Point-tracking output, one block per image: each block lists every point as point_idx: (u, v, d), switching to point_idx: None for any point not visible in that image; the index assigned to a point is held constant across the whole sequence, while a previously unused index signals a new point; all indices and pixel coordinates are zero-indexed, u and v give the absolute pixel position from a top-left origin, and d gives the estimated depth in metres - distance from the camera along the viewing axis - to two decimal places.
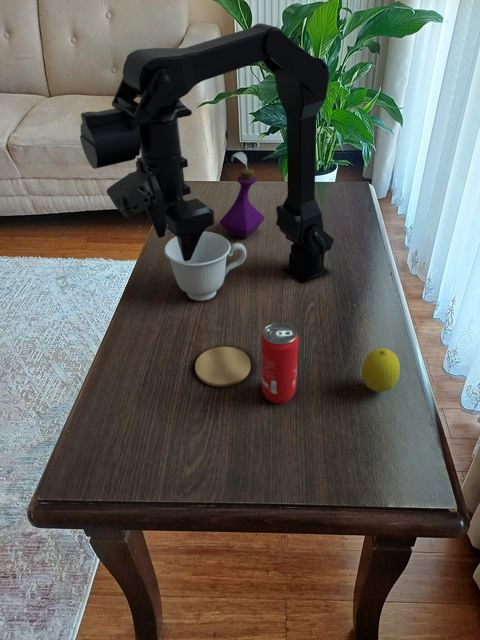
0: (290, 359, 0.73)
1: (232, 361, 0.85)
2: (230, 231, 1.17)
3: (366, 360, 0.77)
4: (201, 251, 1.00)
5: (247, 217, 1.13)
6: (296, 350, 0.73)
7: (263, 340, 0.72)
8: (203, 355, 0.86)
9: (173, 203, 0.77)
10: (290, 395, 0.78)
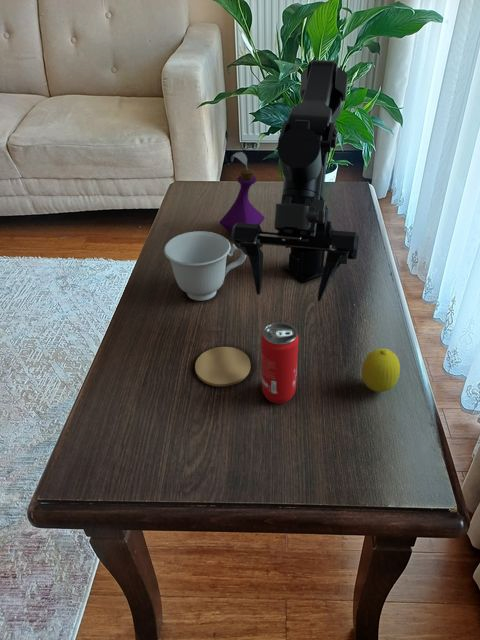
0: (290, 359, 0.73)
1: (232, 361, 0.85)
2: (230, 231, 1.17)
3: (366, 360, 0.77)
4: (201, 251, 1.00)
5: (247, 217, 1.13)
6: (296, 350, 0.73)
7: (263, 340, 0.72)
8: (203, 355, 0.86)
9: (316, 238, 0.78)
10: (290, 395, 0.78)
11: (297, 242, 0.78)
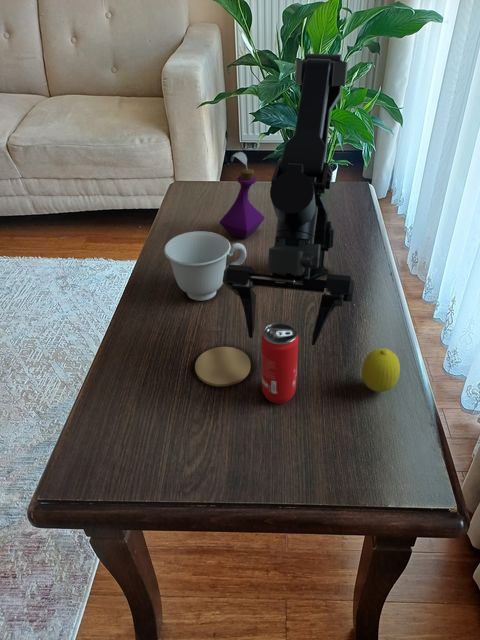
0: (290, 359, 0.73)
1: (232, 361, 0.85)
2: (230, 231, 1.17)
3: (366, 360, 0.77)
4: (201, 251, 1.00)
5: (247, 217, 1.13)
6: (296, 350, 0.73)
7: (263, 340, 0.72)
8: (203, 355, 0.86)
9: (310, 281, 0.76)
10: (290, 395, 0.78)
11: (291, 284, 0.76)
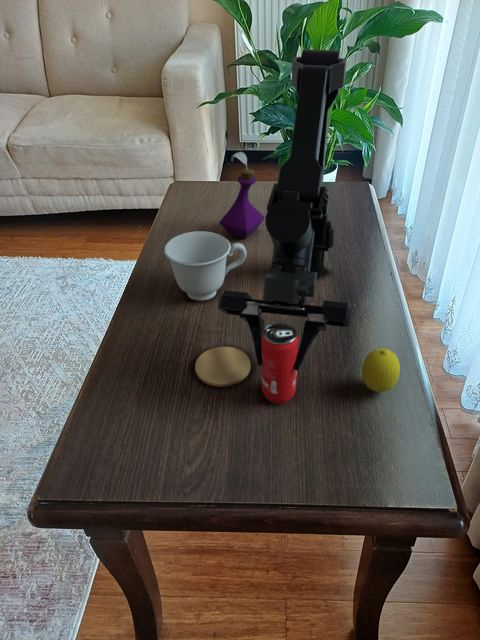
0: (290, 359, 0.73)
1: (232, 361, 0.85)
2: (230, 231, 1.17)
3: (366, 360, 0.77)
4: (201, 251, 1.00)
5: (247, 217, 1.13)
6: (296, 350, 0.73)
7: (263, 340, 0.72)
8: (203, 355, 0.86)
9: (307, 307, 0.75)
10: (290, 395, 0.78)
11: (287, 310, 0.75)
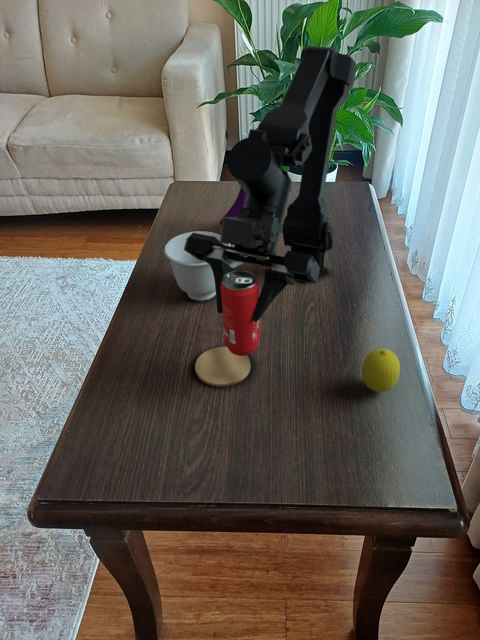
0: (247, 307, 0.71)
1: (232, 361, 0.85)
2: None
3: (366, 360, 0.77)
4: None
5: None
6: (254, 299, 0.71)
7: (221, 285, 0.71)
8: (203, 355, 0.86)
9: (273, 257, 0.72)
10: (250, 348, 0.76)
11: (253, 259, 0.73)
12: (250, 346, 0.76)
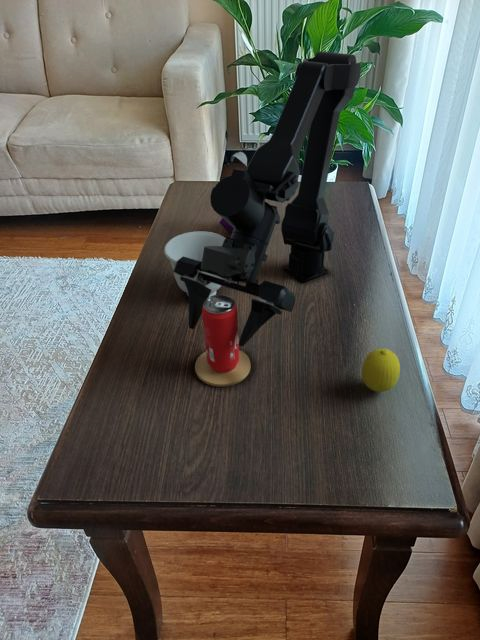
0: (224, 330, 0.77)
1: None
2: (230, 231, 1.17)
3: (366, 360, 0.77)
4: (201, 251, 1.00)
5: None
6: (231, 323, 0.77)
7: (202, 307, 0.77)
8: (203, 355, 0.86)
9: (252, 285, 0.78)
10: (228, 366, 0.82)
11: (234, 285, 0.79)
12: (228, 365, 0.82)
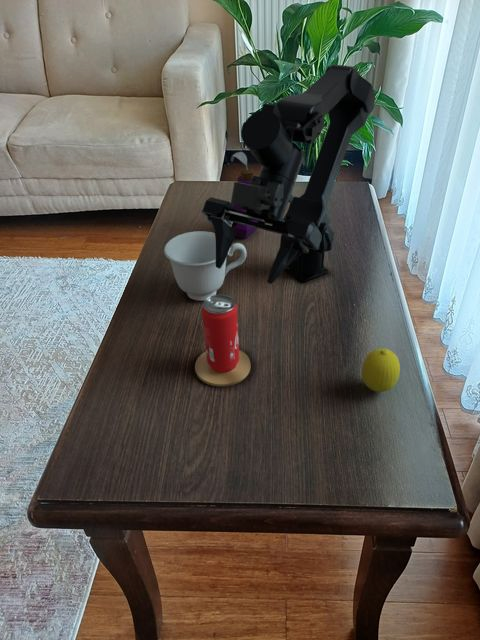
0: (224, 330, 0.77)
1: None
2: None
3: (366, 360, 0.77)
4: (201, 251, 1.00)
5: None
6: (231, 323, 0.77)
7: (202, 307, 0.77)
8: (203, 355, 0.86)
9: (279, 223, 0.79)
10: (228, 366, 0.82)
11: (262, 224, 0.80)
12: (228, 365, 0.82)
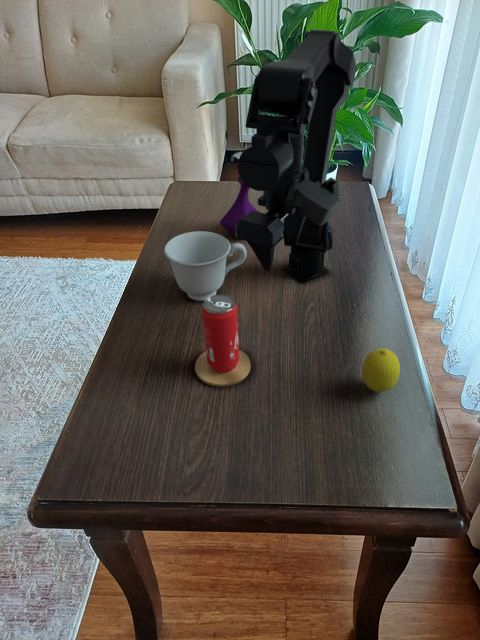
0: (224, 330, 0.77)
1: None
2: (230, 231, 1.17)
3: (366, 360, 0.77)
4: (201, 251, 1.00)
5: None
6: (231, 323, 0.77)
7: (202, 307, 0.77)
8: (203, 355, 0.86)
9: None
10: (228, 366, 0.82)
11: None
12: (228, 365, 0.82)
